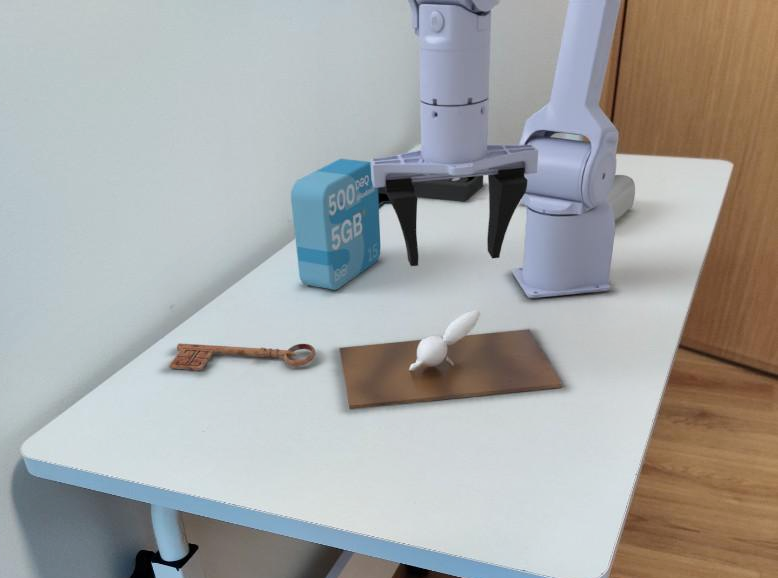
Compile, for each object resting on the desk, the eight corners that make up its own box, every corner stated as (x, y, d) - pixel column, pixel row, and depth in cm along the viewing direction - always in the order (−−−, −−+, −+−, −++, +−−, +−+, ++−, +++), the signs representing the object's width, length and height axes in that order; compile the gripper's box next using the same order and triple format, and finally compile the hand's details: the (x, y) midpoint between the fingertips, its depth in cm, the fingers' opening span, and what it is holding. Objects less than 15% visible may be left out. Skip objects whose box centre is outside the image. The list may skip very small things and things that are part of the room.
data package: (331, 294, 98) (322, 188, 91) (299, 288, 100) (288, 183, 92) (381, 259, 106) (377, 158, 98) (351, 254, 108) (344, 155, 100)
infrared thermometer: (534, 202, 122) (636, 209, 115) (498, 229, 115) (604, 237, 107) (534, 169, 120) (638, 173, 112) (497, 194, 112) (606, 200, 105)
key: (164, 370, 86) (303, 380, 82) (162, 362, 85) (302, 372, 82) (187, 341, 90) (320, 349, 86) (185, 333, 89) (319, 341, 86)
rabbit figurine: (395, 361, 83) (454, 309, 84) (420, 392, 84) (479, 340, 84) (406, 355, 77) (470, 298, 78) (433, 387, 78) (496, 331, 79)
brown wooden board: (529, 332, 88) (529, 329, 87) (561, 387, 78) (562, 383, 78) (339, 351, 87) (339, 347, 86) (349, 409, 77) (349, 405, 77)
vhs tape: (483, 185, 127) (484, 171, 126) (465, 201, 122) (465, 187, 121) (398, 178, 132) (398, 164, 131) (377, 193, 127) (376, 179, 126)
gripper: (373, 117, 67) (382, 282, 75) (552, 101, 67) (540, 266, 76) (364, 98, 72) (373, 253, 81) (529, 83, 73) (520, 239, 81)
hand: (453, 258), depth 79 cm, fingers open, 7 cm apart
